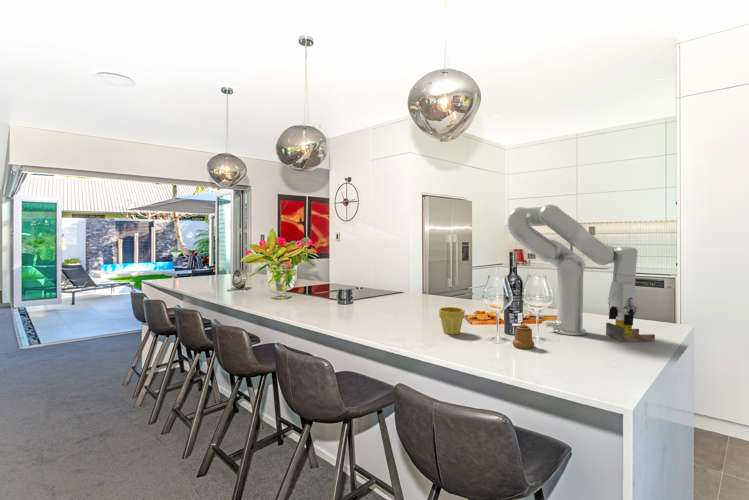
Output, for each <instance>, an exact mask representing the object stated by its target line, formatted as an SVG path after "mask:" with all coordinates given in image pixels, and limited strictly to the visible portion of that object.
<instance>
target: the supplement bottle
mask: <svg viewBox="0 0 749 500" xmlns="http://www.w3.org/2000/svg"><path fill="white" fill-rule="evenodd" d="M624 315H626V313H625V311H622V310H620V311H619V310H618V316H617V317H616V319H615V324H614V325H617V326H619V327H622V328H624V335H632V329H633V328H632V327H633V325H632V326H631V325H624Z"/></svg>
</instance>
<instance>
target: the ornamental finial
mask: <svg viewBox="0 0 749 500" xmlns="http://www.w3.org/2000/svg"><path fill="white" fill-rule="evenodd" d="M512 345H513V347H514V348H516V349H519V350H531V349H533V348H535V342H534V340H533V330H532V328H531V327H530V326H528V325H527V324H525V323H524V324H519V326H516V327H515V329H514V338H513V340H512Z"/></svg>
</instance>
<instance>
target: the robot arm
mask: <svg viewBox="0 0 749 500" xmlns="http://www.w3.org/2000/svg"><path fill="white" fill-rule="evenodd" d="M539 226H540V227H542V226H547V227H548V228H549V229H550V230H551V231H553V232H554V233H555V234H557V235H558V236H559V237H561V238H562V239H564V240H565V241H566V242H567V243H568V244H569V245H571V246H572V247H574V248H576V249H577V250H578V251H580V253H582V255H585V257H587V258H588V259H589V260H591V261H592V262H594V263H595V264H597V265H599V266H607V265H608V264H613V271H612V272H613V273H612V281H611V283H610V287H609V294H608V297H607V300H608V309H609V310H608V311H609V313H608V319H609V320H616V317H617V316H618V312H619V309H621V310H624V311H625V313H626V315H624V325H631V326H632V327H633V325H634V316H635V314H636V313H637V310H638V308H639V305H638V304H637V303H636V275H637V265H638V264H637V263H638V249H637V248H636V247H631V246H630V247H629V246H612V245H606V244H604V243H603V242H602V241H600V240H599V239H598V238H596V237H595V236H594V235H592V234H591V233H590V232H589V231H588V230H586V228H585V227H584V226H583V225H582V224H581V223H580V222H578V221H577V220H575V219H574V218H573V217H572V216H570V215H569V214H567V213H566V212H565V211H563V210H562V209H561V208H560V207H559V206H557V205H554V204H546V205H544V206H538V207H522V206H521V207H520V206H519V207H516V208H514V209H512V210H511V211H510V212H509V215H508V217H507V228H508V231H509V233H510V234H511V236H512V237H513V238H514V240H515V241H517V242H518V243H519V244H520V245H522V247H524V248H526V249H527V250H528V251H529V252H531V254H533V255H535V256H536V257H538V259H539V260H540V261H543V262H545V263H550V264H551V265H553V267H555V268H556V269H557V271H556V273H557V303H556V304H557V305H556V309H557V312H556V313H557V314H556V317H557V318H556V319H554V321H552V322H551V321H545V323H544V324H545V325H544V326H545V327H546V328H548V327H549V328H550V327H551V328H552V331H553V332H554V333H556V334H561V335H564V336H567V335H568V336H584V335H587V334H588V333H587V331H588V330H587V329H585V328H583V322H584V321H583V320H584V319H583V318H584V315H583V314H584V271H585V270H586V263H585V260H584V259H583V258H582V256H580V255H578V254H576V253H575V252H574V251H573V250H571V249H570V248H568V247H567V246H565V245H564V244H562V243H561V242H559V241H557V240H554V239H549V238H548V237H547V236H545V235H543V234H541V232H539V231H538V230H536V229H535V228H533V227H539Z"/></svg>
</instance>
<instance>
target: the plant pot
mask: <svg viewBox="0 0 749 500" xmlns="http://www.w3.org/2000/svg"><path fill="white" fill-rule="evenodd" d="M465 311H466V310H465V309H464V308H462V307H458V306H457V307H454V306H446V307H441V308H439V310H438V317H439V318H440V321H441V322H440V323H441V325H442V332H443V334H444V335H445V334H446V335H453V336H455V335H459V334H460V333H461V328H462V325H463V319H465V313H466V312H465Z"/></svg>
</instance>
